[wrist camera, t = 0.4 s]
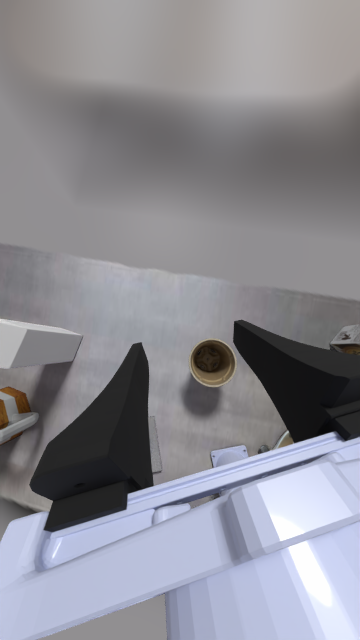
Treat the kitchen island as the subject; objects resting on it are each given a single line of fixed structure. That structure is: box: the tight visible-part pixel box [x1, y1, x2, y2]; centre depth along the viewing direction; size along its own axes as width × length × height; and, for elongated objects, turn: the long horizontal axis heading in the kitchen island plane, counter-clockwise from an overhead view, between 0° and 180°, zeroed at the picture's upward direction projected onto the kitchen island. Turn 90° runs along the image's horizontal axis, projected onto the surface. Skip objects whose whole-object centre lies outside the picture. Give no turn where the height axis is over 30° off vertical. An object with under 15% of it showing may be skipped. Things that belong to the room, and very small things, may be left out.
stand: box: [148, 416, 162, 472], centre depth 35 cm, size 11×11×5 cm
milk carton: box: [0, 319, 83, 369], centre depth 33 cm, size 7×7×19 cm
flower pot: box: [189, 339, 237, 387], centre depth 35 cm, size 9×9×9 cm
